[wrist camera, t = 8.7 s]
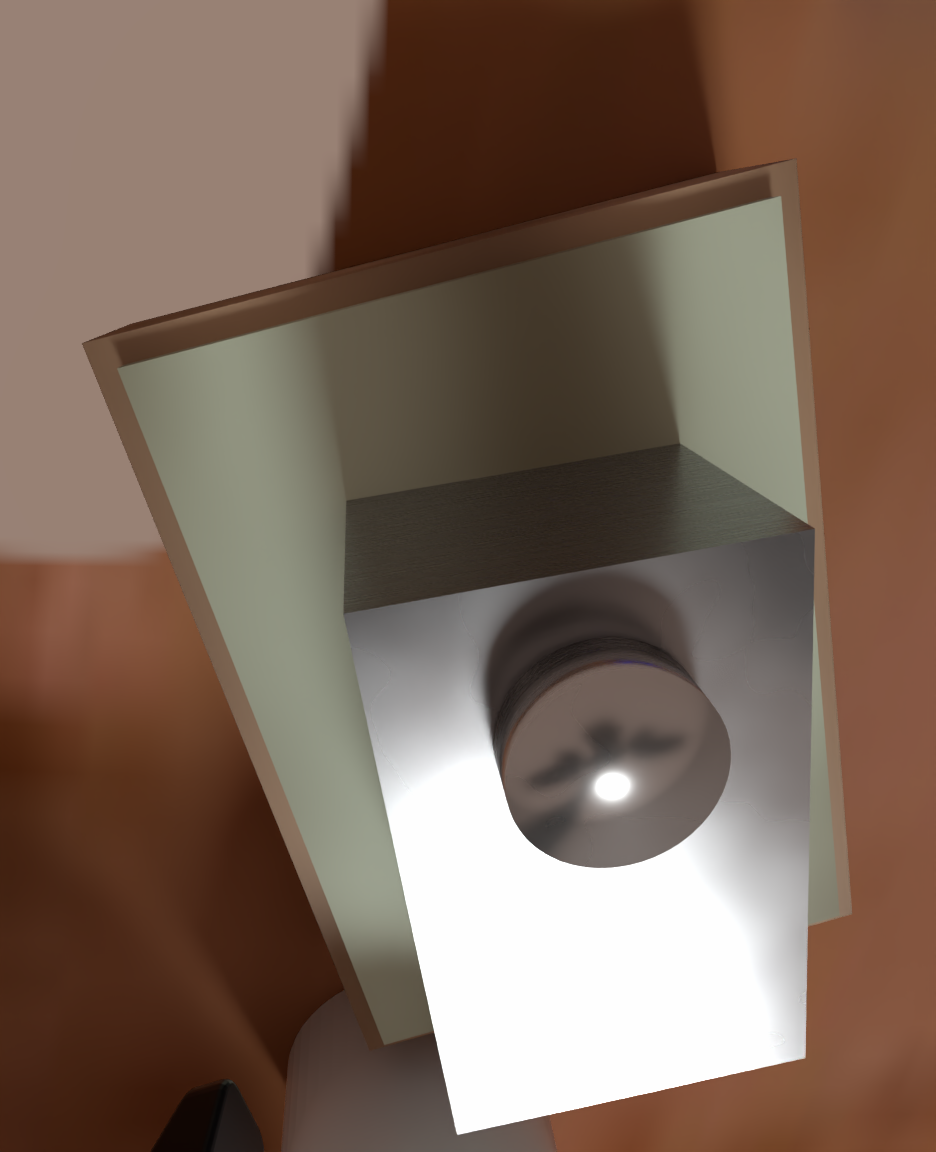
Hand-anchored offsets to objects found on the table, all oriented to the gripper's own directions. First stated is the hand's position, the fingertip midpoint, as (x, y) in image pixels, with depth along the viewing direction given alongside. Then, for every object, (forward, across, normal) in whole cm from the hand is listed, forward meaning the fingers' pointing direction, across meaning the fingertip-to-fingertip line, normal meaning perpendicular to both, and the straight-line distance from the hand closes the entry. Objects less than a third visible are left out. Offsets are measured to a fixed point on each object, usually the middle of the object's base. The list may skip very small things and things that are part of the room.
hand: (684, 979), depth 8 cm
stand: (+9, 0, 0) cm, 9 cm away
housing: (+6, 0, 0) cm, 6 cm away
